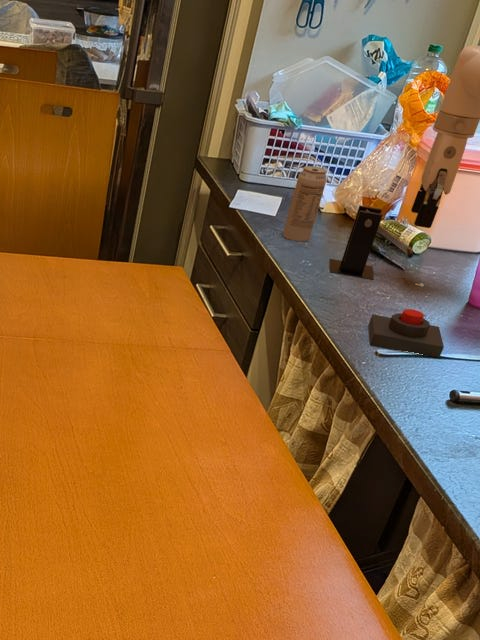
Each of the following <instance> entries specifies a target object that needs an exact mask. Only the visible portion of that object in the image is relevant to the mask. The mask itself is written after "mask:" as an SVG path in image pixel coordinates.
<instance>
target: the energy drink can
mask: <svg viewBox="0 0 480 640" xmlns="http://www.w3.org/2000/svg"><path fill="white" fill-rule="evenodd" d="M326 173H327V170H326V168H323V167H319V166H314V165H306V166H303V168H302V170H301V172H300V173H299V174H298V176H297V179H296V183H295V188H294V192H293V195H292V197H291V202H290V206H289V208H288V209H289V210H288V213H287V217H286V220H285V223H284V227H283V230H282V231H283V232H282V237H284V238H285V239H287V240H291V241H295V242H301V243H302V242H303V243H304V242H308V241H309V240H310V239H311V235H312V231H313V228H314V225H315V221H316V218H317V215H318V211H319V208H320V204H321V202H322V198H323V195H324V191H325V187H326V183H327V180H328V179H327V174H326Z"/></svg>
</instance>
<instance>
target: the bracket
mask: <svg viewBox="0 0 480 640" xmlns="http://www.w3.org/2000/svg"><path fill="white" fill-rule="evenodd" d="M366 209H368V210H369V211H370V212H367V211H365V210H366ZM382 218H383V213H382V208H378V207H372V206H366V205H361V204H360V205H359V206H358V208H357V212H356V215H355V218H354V222H353V224H352V227H351V231H350V233H349V237H348V240H347V243H346V246H345V249H344V252H343V255H342V259H340V260H339V259H334V258H329V263H328V265H329V267H328V268H329V269H328V270H329V271H328V272H329V274H330V273H331V274H336V275H342V276H348V277H353V278H357V279H358V278H359V279H363V280H369V281H375V277H374V267H373V266H372V265H368V264H367V262H368V260H369V257H370V254H371V251H372V248H373V246H374V245H373V244H374V241H375V239H376V236H377V233H378V231H377V230H378V227H379V224H380V225H381V221H382Z"/></svg>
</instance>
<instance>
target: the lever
mask: <svg viewBox="0 0 480 640" xmlns="http://www.w3.org/2000/svg"><path fill="white" fill-rule="evenodd" d="M365 211H367V212H370V211H369V210H368V209H366V210H365ZM377 233H379V234H380V235H381V236H383V237H384V238H385V239H387V240H388V241H389V242H391V243H392V244H393V245H394V246H396V247H397V248H399V250H401V251H402V252H403V253H405V254H406V256H407V258H409V259H412V258H413V256H414V254H413V249H412V246H411V245H409V246H408V245H407V244H405V243H404V242H403V241H402V240H400V239H399V238H398V237H396V236H395V235H393V234H392V233H391V232H390V231H389V230H387V228H385V227H383V225H381V223H380V224H379V227H378V230H377Z"/></svg>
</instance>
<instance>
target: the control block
mask: <svg viewBox="0 0 480 640" xmlns="http://www.w3.org/2000/svg"><path fill="white" fill-rule="evenodd" d="M402 313H403V312H402ZM402 313H401V312H400V313H399V312H396V313H394V314H392V315H391V317H389V316H384V315H379V314H371V317H370V319H369V323H368V325H367V327H368V328H367V329H368V339H369V346H371V347H377V348H382V349H387V350H392V349H393V350H392V351H397V350H401V351H400V352H403V351H408V352H414V353H419V354H423V355H422V356H424V355H427V356H426V357H429V356H431V358H435V357H436V359H440V357H441V355H442V353H443V350H444V348H445V346H444V341H443V338H442V333H441V330H440V326H438V325H437V326H436V325H431V323H430V322H429V320H427V319H425V318H424V317H423V320H422V322H421V325H412V324H407V323H405V322H402V321H401V320H400V318H401V316H402ZM408 352H407V353H408ZM419 354H418V355H419Z"/></svg>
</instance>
